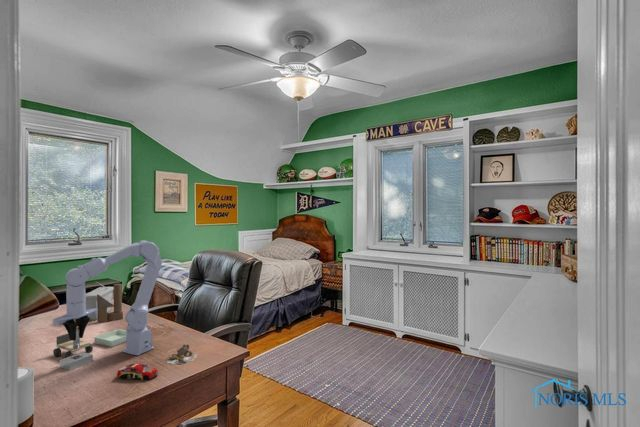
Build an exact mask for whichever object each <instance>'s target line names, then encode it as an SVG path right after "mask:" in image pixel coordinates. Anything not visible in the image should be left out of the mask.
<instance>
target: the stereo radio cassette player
mask: <svg viewBox="0 0 640 427" xmlns="http://www.w3.org/2000/svg"><path fill="white" fill-rule="evenodd" d="M95 283H97V284H99V287H97V288H96V289H93V290H91V291H89V292H87V293H85V298H86V310H89V309H93V308H96V309H97V294H99V295H100V296H101V297H103V298H104V299H106V300H107V301H108V302H110V303H111V304H113V291H114V286H105V285H103V284H101V283H100V282H97V281H95ZM112 309H113V307H109V308H107V313H110V312H111V311H112ZM88 317H90V321H97V314H93V315H89V316H88Z"/></svg>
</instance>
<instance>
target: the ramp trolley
mask: <svg viewBox="0 0 640 427" xmlns="http://www.w3.org/2000/svg"><path fill="white" fill-rule="evenodd" d="M83 348H84V350H85V351H84V352H85V353H90V352H92V351H93V350H94V348H93V345H92V343H90V342H88V341H83V340H80V348H78V349H73V340H70V337H69V334H68V333H65V334H62V335H59V336H56V348H54V349H53V352H52V353H53V356H54V357H56V358H57V357H60V356H61V355H62V350H66V352H64V358H67V357H70V356H73V355H74V354H73V352H75V351H79V350H81V349H83ZM61 349H62V350H61Z"/></svg>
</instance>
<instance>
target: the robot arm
mask: <svg viewBox="0 0 640 427" xmlns="http://www.w3.org/2000/svg"><path fill="white" fill-rule="evenodd" d="M128 257H129V258H130V257H141V258H143V261H145V263H146V264H147V265H146V268H145V271H144V274H143V277H142V279H141V283H140V286H139V289H138V291H137V294H136V296H135V297H136V298H135V301H134V303H133V304H132V305H131V307H130V309H129V311H127V313H126V314H125V317H124V319H125V322H126V323H127V326H126V327H125V330H126V342H125V345H126V346H125V347H126V348H123V349H121V350H120V351H121V352H123V353H125V354H130V355H133V356H139V355H141V354H144V353H147V352H149V351H151V350H153V349H154V348H155V347H154V346H153V333H152V331H151V330H149V329H148V327H147V324H148V320H149V319H148V314H149V303H150V301H151V298H152V294H153V292H154V288H155V286H156V283H157V279H158V277H159V273H160V270H161V268H162V264H163V263H162V257H161V253H160V248H159V247H158V246H157V245H156V243H155V242H153V241H148V240H146V239H142V240H139V241H138V242H134V243H131V244H129V245H127V246H125V247H123V248H122V249H120V250H117V251H115V252H114V253H112V254H110V255H108V256H106V257H99V256H98V257H97V258H96V257H93V258H91V259H90V261H88V262H86V263H84V264H79V265H77V268H75V267H74V268H71V269H70V270H68V271H67V273H66V274H65V276H64V279H65V281H66V282H67V283H66V290H65V293H66V294H65V296H66V301H65V302H66V314H64V315H61V316H58V317H56V318H52V325H53V326H59V325H61V324H62V325H63V327H64V329H65V330H66V331H67V334H69V337H70V340H73V341H74V340H75V339H76V327H77V325H80V339H82V338H84V333H85V331H86V328H87V325H88V324H89V322H90V321H91V320H90V317H88V316H89V315H93V314H98V309H96V308H93V309H89V310H86V298H85V294H86V284H85V283H86V281H87V280H90V279H92V278H94V277H96V276H98V275H100V274H103V273H104V272H107V270H108V268H109V266H111V265H113V264H116V263H117V262H120V261H122V260H124V259H126V258H128Z"/></svg>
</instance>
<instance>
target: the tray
mask: <svg viewBox="0 0 640 427" xmlns="http://www.w3.org/2000/svg"><path fill="white" fill-rule="evenodd" d="M125 343H126V329H120V328H117V329H115V330H112V331H109V332H106V333H102V334H100V335H96V336H94V344H96V345H101V346H105V347H108V348H113V347H117V346H119V345H122V344H125Z"/></svg>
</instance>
